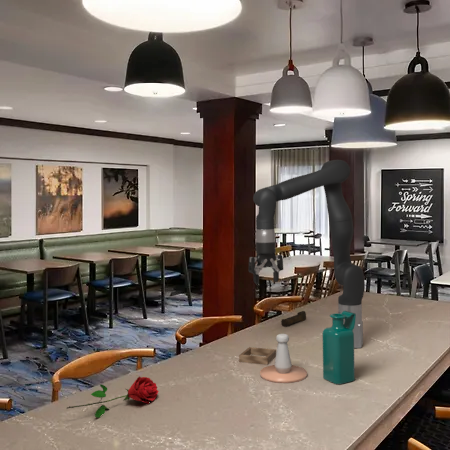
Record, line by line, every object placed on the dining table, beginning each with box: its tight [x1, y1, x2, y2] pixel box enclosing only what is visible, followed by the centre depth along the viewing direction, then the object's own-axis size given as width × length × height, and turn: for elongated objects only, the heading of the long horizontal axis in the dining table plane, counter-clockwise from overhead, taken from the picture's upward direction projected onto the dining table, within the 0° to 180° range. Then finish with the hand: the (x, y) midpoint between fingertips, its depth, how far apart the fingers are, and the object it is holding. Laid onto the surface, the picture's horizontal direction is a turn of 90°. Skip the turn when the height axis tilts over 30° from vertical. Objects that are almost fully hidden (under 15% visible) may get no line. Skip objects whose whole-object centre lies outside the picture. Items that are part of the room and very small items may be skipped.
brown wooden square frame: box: [238, 346, 277, 366], centre depth 196 cm, size 11×11×2 cm
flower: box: [66, 376, 159, 419], centre depth 152 cm, size 9×9×30 cm
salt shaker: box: [274, 333, 293, 374], centre depth 177 cm, size 6×6×13 cm
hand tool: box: [280, 310, 307, 328], centre depth 250 cm, size 19×4×5 cm, turn 137°
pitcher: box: [321, 311, 356, 385], centre depth 172 cm, size 10×8×22 cm
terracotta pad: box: [259, 364, 308, 384], centre depth 178 cm, size 16×16×1 cm
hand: (266, 282), depth 199 cm, fingers open, 8 cm apart
